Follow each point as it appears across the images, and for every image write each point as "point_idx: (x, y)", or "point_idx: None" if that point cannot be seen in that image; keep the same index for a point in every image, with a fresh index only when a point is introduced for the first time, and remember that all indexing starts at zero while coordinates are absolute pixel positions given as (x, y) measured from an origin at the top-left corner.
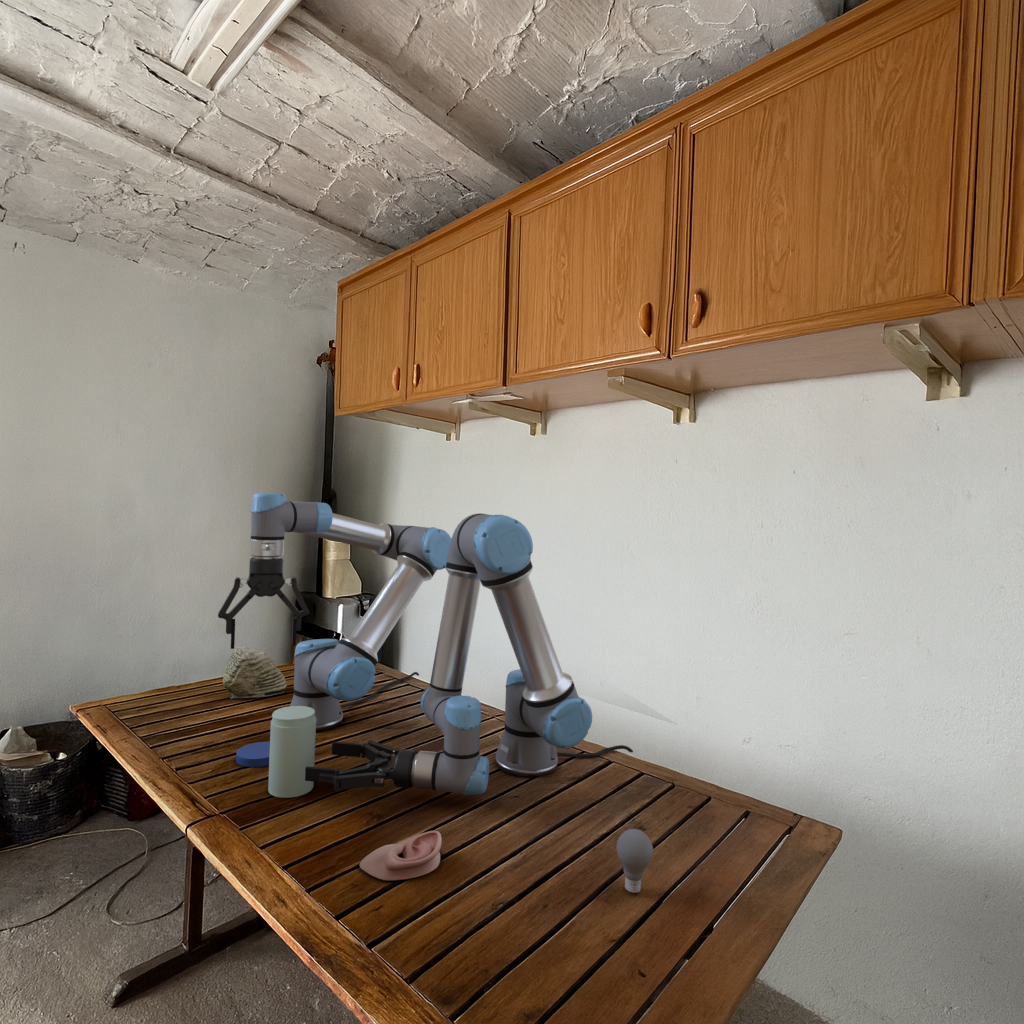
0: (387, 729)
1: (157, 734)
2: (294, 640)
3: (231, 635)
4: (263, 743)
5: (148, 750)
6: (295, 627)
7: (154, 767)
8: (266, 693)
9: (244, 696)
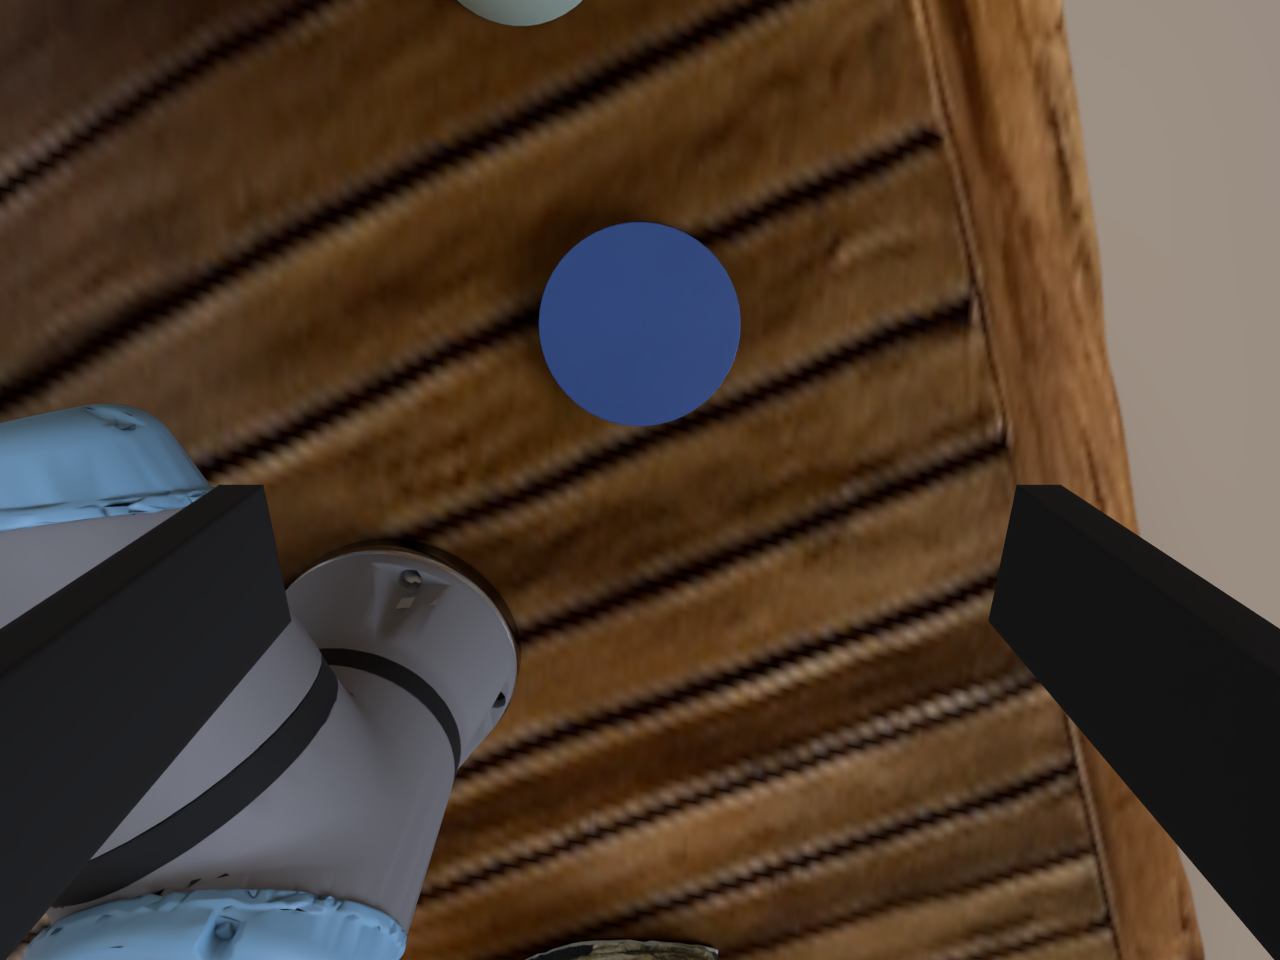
0: None
1: (995, 686)
2: (195, 512)
3: (1192, 573)
4: (620, 405)
5: None
6: (19, 626)
7: (1044, 360)
8: (585, 953)
9: (666, 948)
